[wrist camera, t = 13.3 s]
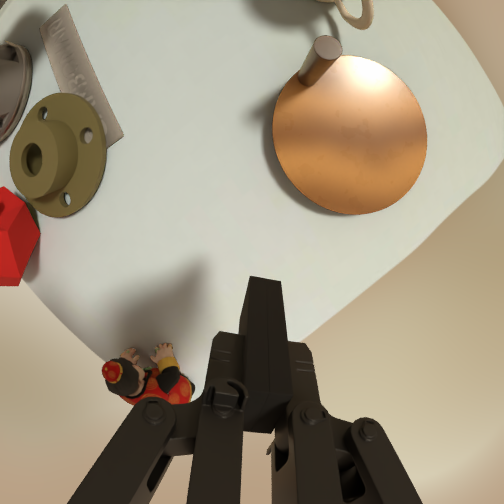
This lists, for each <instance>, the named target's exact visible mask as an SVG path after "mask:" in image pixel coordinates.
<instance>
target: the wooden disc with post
mask: <svg viewBox="0 0 504 504" xmlns="http://www.w3.org/2000/svg"><path fill="white" fill-rule="evenodd" d="M341 54H342V46H341V44H340V42H339V41H338V40H337V39H335V38H334V37H332V36H327V35H324V36H320V37H318V38H317V39H316V40H315V41H314V43H313V45H312V47H311V49H310V51H309V53H308V55H307V57H306V59H305V61H304V63H303V65H302V67H301V69H300V70H299V71H298V72H297V73H296V74H294V75H293V76H292V77H291V79H290V80H289V81H288V82H287V84H286V85H285V86H284V88H283V90H282V91H281V93H280V95H279V98H278V100H277V103H276V106H275V110H274V114H273V122H272V136H273V142H274V148H275V151H276V154H277V158H278V160H279V162H280V164H281V167H282V168H283V170H284V172H285V173H286V175H287V177H288V178H289V179H290V181H291V182H292V183H293V185H294V186H295V187H296V188H297V189H298V190H299V191H300V192H301V193H302V194H303V195H305V196H306V197H307V198H309V199H310V200H311V201H313V202H314V203H316V204H318V205H320V206H322V207H324V208H326V209H329V210H331V211H335V212H338V213H344V214H359V215H360V214H368V213H373V212H376V211H380V210H382V209H384V208H387V207H389V206H390V205H392V204H394V203H396V202H397V201H398V200H399V199H401V198H402V197H403V196H404V195H405V194H406V193H407V192H408V191H409V190H410V189H411V187H412V186H413V185H414V183H415V182H416V180H417V178H418V176H419V175H420V172H421V170H422V167H423V165H424V161H425V157H426V150H427V132H426V125H425V120H424V117H423V114H422V111H421V108H420V106H419V104H418V102H417V100H416V98H415V97H414V95H413V93H412V92H411V90H410V89H409V88H408V87H407V85H406V84H405V83H404V82H403V81H402V80H401V79H400V78H399V77H398V76H397V75H396V74H394V73H393V72H392V71H390V70H389V69H388V68H386V67H384V66H382V65H381V64H379V63H377V62H374V61H372V60H369V59H366V58H362V57H358V56H351V55H341Z"/></svg>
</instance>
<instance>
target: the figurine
mask: <svg viewBox="0 0 504 504" xmlns="http://www.w3.org/2000/svg"><path fill="white" fill-rule="evenodd" d="M172 349H173V347H172V344H168V345H167V343H164V344H163V345H162V344H159V348H158V346H157V347H155V352H156V353H157V355H156V356H155V357H154V356H153V355H151V356H150V358H151V360H152V361H153V362H154V363H156V364H157V366H158V368H152V367H147V368H143V369H142V368H141V367H140V366H138V365H136V364H137V361H138V359H139V358H140V357H139V355H136V356H135V357H134V358H132V355H134V353H135V352H136V350H135V349H132V348H130V349H127V350H125V351H124V352H123V353H122V354H121V355H120V358H119V359H111V360H110V361H108V362H106V363H105V364H104V365H103V367H102V374H103V377H104V378H105V381H106V385H107V387H108V389H109V391H111V392H112V393H115V394H117V395H119V396H120V397H121V398H122V399H124V400H125V401H126V402H127V403H129V404H132V405H135V404H136V403H137V402H138V401H140V400H141V399H143V398H146V397H159V398H163V399H165V400H166V401H168V402H169V403H171V404H184V403H190V401H191V398H192V395H193V393H194V392H195V385H194V384H193V383H191V382H190V381H189V380H188V379H187V378H185V377H183V376H181V375H180V372H179V369H180V367H179V365H178V363H177V361H176V359H175V357H173V352H172ZM168 392H169V394H167V393H168Z"/></svg>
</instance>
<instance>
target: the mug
mask: <svg viewBox="0 0 504 504" xmlns="http://www.w3.org/2000/svg"><path fill="white" fill-rule="evenodd" d="M317 1H320V2H328V3H329V2H335V4H336V6H337V8H338V10H339V12H340V14H341V16H342V17H343V19H344V20H345V21H346V22H348V23H349V24H350V25H352V26H353V27H355V28H357V29H360V30H365V29H367V28H369V27H370V25H371V23H372V20H373V13H374V11H373V1H372V0H362V8H363V10H362V16H361V17H360V18H355V17H353V16H351V15H350V14H349V13H348V11H347V10H346V8H345V6H344V5H343V3H342V1H341V0H317Z"/></svg>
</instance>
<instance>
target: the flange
mask: <svg viewBox="0 0 504 504" xmlns="http://www.w3.org/2000/svg"><path fill="white" fill-rule="evenodd" d="M45 108H47V111H48V113H47V117H46V119H45V120H43V118H42V113H43V110H44V109H45ZM88 128H90V129H91V130H92V132H93V137H92V140H91V141H90V142H89V143H87V142H86V141H85V139H84V133H85V131H86V129H88ZM41 152H42V160H41ZM105 161H106V139H105V133H104V128H103V125H102V122H101V120H100V117H99V115H98V113H97V112H96V110H95V109H94V107H93V106H92V105H91V104H90V103H89V102H88V101H87V100H86V99H84V98H83V97H81V96H79V95H76V94H71V93H55V94H52V95H49V96H47V97H45V98H43V99H42V100H40V101H39V102H38V103H37V104H36V105H35V106H34V107H33V108H32V109H31V110H30V112H29V113H28V114H27V116H26V118H25V119H24V121H23V123H22V125H21V128H20V130H19V131H18V133H17V134H16V136H15V138H14V140H13V143H12V146H11V150H10V172H11V176H12V179H13V182H14V184H15V186H16V187H17V189H18V190H19V191H20V192H21V193H22V194H23V195H24V196H25V198H26V199H27V200H28V202H29V203H30V204H31V205H32V206H33V207H34V208H35V209H36V210H37V211H39V212H40V213H42V214H44V215H47V216H50V217H64V216H67V215H70V214H72V213H74V212H76V211H78V210H79V209H81V208H82V207H83V206H85V205H86V204H87V203H88V202H89V200H90V199H91V198H92V197H93V195H94V194H95V192H96V190H97V188H98V186H99V184H100V181H101V178H102V175H103V172H104V167H105ZM65 192H67V193H68V194H69V195H70V198H71V203H70V205H67V204H66V203H65V201H64V193H65Z"/></svg>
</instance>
